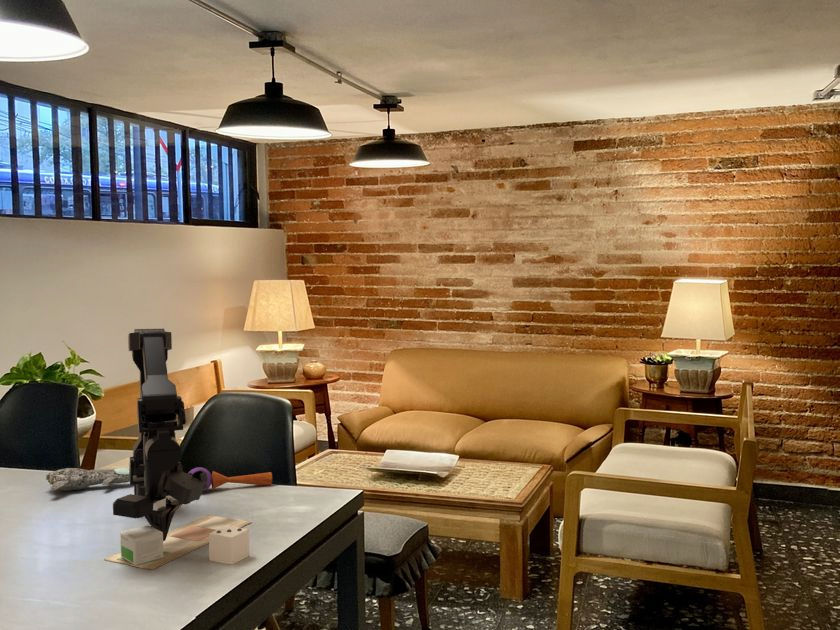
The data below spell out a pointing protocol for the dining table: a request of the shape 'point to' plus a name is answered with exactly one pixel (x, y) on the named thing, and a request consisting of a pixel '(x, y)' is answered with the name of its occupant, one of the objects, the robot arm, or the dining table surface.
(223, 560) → the die
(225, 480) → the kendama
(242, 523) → the game board
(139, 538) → the small box
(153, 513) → the robot arm
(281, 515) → the dining table surface
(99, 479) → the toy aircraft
